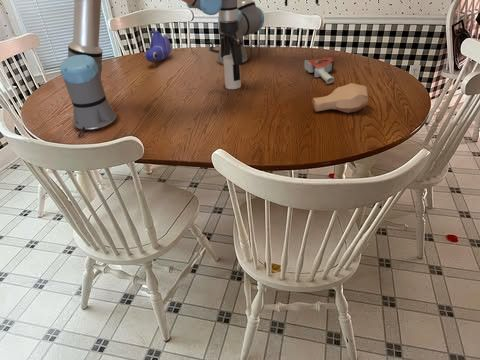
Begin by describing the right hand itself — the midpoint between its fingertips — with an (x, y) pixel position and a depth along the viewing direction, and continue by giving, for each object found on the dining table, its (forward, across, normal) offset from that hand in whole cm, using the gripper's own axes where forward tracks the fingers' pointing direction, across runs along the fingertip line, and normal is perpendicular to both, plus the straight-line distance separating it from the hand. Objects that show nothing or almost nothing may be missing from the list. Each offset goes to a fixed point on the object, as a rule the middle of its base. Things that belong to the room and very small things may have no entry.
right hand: (301, 4), depth 157 cm
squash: (+27, +7, -52) cm, 59 cm away
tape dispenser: (+27, +7, -16) cm, 32 cm away
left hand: (+23, -32, -23) cm, 46 cm away
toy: (+27, -72, +18) cm, 79 cm away
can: (+27, -32, -23) cm, 48 cm away
